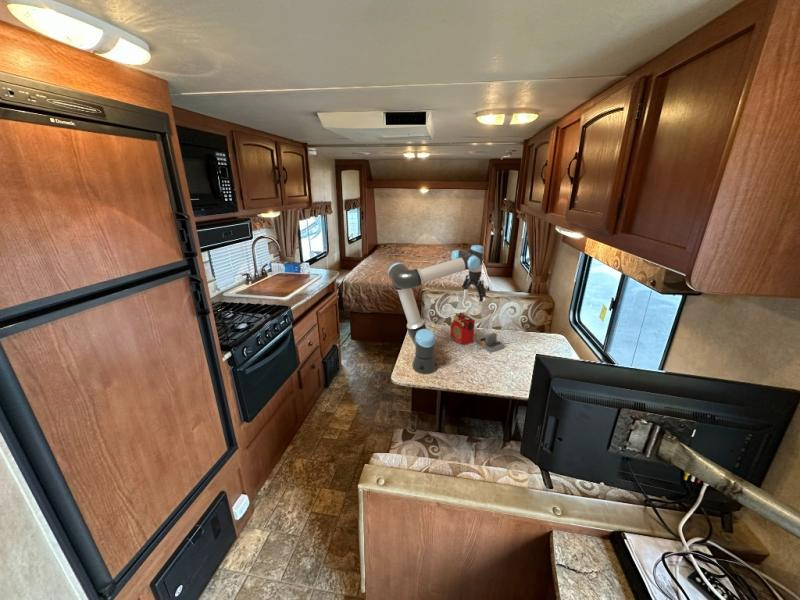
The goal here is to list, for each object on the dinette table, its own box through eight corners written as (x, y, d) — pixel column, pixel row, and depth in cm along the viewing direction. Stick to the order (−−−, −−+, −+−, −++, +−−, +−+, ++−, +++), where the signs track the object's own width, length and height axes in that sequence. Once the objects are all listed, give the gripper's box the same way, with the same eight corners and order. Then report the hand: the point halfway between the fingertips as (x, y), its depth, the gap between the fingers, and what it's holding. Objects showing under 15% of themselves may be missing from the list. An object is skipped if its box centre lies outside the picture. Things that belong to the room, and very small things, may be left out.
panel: (487, 346, 211) (488, 336, 208) (484, 345, 213) (485, 335, 210) (495, 344, 215) (496, 333, 212) (493, 342, 217) (494, 332, 214)
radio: (449, 336, 226) (450, 312, 219) (460, 333, 231) (462, 309, 223) (462, 346, 213) (465, 320, 206) (474, 343, 218) (476, 317, 210)
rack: (490, 352, 206) (491, 347, 204) (475, 343, 218) (476, 338, 216) (503, 348, 211) (504, 343, 209) (488, 339, 223) (489, 334, 222)
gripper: (494, 274, 181) (490, 307, 189) (466, 265, 202) (464, 295, 209) (484, 276, 178) (481, 310, 186) (457, 266, 198) (455, 296, 206)
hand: (472, 302), depth 198 cm, fingers open, 13 cm apart
